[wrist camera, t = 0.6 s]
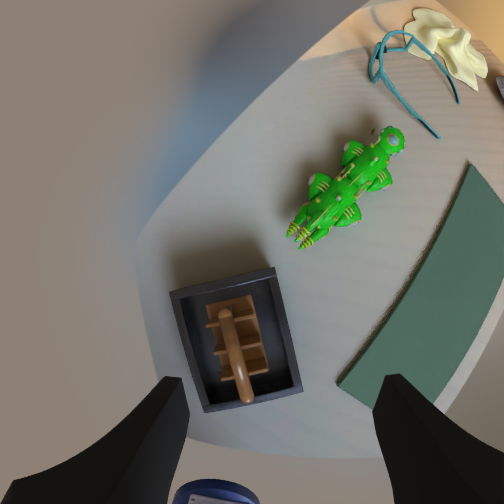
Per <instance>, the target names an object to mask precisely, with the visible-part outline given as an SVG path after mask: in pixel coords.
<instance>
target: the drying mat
mask: <svg viewBox="0 0 504 504" xmlns="http://www.w3.org/2000/svg"><path fill="white" fill-rule="evenodd" d="M503 278H504V204H503V203H502V201H501V200H500V199H499V197H498V196H497V195H496V193H495V192H494V191H493V189H492V188H491V187H490V185H489V184H488V183H487V182H486V180H485V179H484V178H483V177H482V175H481V174H480V173H479V172H478V171H477V169H476V168H475V167H474V166H473V165H472V164H469V166H468V168H467V171H466V173H465V176H464V178H463V181H462V183H461V185H460V188H459V190H458V192H457V195H456V197H455V199H454V201H453V203H452V206H451V208H450V210H449V212H448V214H447V216H446V218H445V220H444V222H443V224H442V226H441V228H440V230H439V232H438V234H437V236H436V238H435V240H434V242H433V244H432V245H431V247H430V249H429V251H428V253H427V255H426V256H425V258H424V260H423V262H422V264H421V265H420V267H419V269H418V270H417V272H416V274H415V275H414V277H413V279H412V280H411V282H410V284H409V285H408V287H407V289H406V290H405V292H404V293H403V295H402V297H401V298H400V300H399V301H398V303H397V304H396V306H395V307H394V309H393V310H392V312H391V313H390V315H389V316H388V318H387V319H386V321H385V322H384V324H383V325H382V326H381V328H380V329H379V331H378V332H377V333H376V335H375V336H374V338H373V339H372V340H371V342H370V343H369V344H368V346H367V347H366V348H365V350H364V351H363V352H362V354H361V355H360V356H359V358H358V359H357V360H356V362H355V363H354V364H353V365H352V367H351V368H350V369H349V370H348V372H347V373H346V374H345V375H344V376H343V378H342V379H341V380H340V381H339V382H338V384H337V386H338V387H339V388H341V389H342V390H344V391H345V392H347V393H348V394H350V395H351V396H353V397H354V398H356V399H357V400H359V401H360V402H362V403H364V404H365V405H367V406H368V407H370V408H371V409H373V408H374V406H375V403H376V400H377V398H378V395H379V392H380V389H381V386H382V383H383V381H384V378H385V375H391V374H398V373H400V374H401V375H403V376H404V377H405V378H406V379H407V380H408V381H409V382H410V383H411V384H412V385H413V386H414V387H415V388H416V389H417V390H418V391H419V392H420V393H421V394H422V395H423V396H425V397H426V398H427V399H428V400H429V401H430V402H431V403H432V404H433V403H434V402H435V400H436V399H437V398H438V396H439V395H440V393H441V392H442V391H443V389H444V388H445V386H446V385H447V383H448V382H449V380H450V379H451V377H452V376H453V374H454V373H455V371H456V370H457V368H458V366H459V365H460V363H461V362H462V360H463V358H464V357H465V355H466V353H467V352H468V350H469V348H470V346H471V345H472V343H473V341H474V339H475V337H476V335H477V334H478V332H479V330H480V328H481V326H482V324H483V322H484V320H485V318H486V316H487V314H488V312H489V310H490V308H491V306H492V303H493V301H494V299H495V297H496V294H497V292H498V290H499V287H500V285H501V283H502V280H503Z"/></svg>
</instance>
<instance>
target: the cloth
mask: <svg viewBox="0 0 504 504" xmlns="http://www.w3.org/2000/svg"><path fill="white" fill-rule="evenodd" d="M413 17H414V18H415V21H412V22H410V23H407V24H406V25H405V27H404V31H405V32H407V33H410V34H412V35H414V36H415V38H416V39H417V40H418V41H420V42H421V43H422V44H423V45H424V46H425V47H426V48H427V49H428V50H429V51H430V52H431V53H432V54H433V55H434V52H436V53H437V54H438V55H440V56H441V57H442V58H443V59H444V60H445V64H446V66H447V70H448V72H449V74H450V75H452V76H453V77H455V78H457V79H459V80H461V81H463V82H465V83H466V84H467V85H469V86H470V87H471V88H473V89H474V90H476V91H477V92H478V86H477V80H476V77H475V74H477V75H478V76H480V77H482V78H485V79H486V76H487V72H488V67H487V63H486V61H485V58H484V56H483V55H482V54H481V53H479V52H478V51H477V50H476V49H475V48H473V47H472V46H471V45H470V44H469V40H470V37H471V35H470V33H469V32H468V31H467V30H465V29H463V28H456V27H455V25H454V24H453V23H452V21H451V20H450V19H449V18H448V17H447V16H446V15H444V14H442V13H440V12H437V11H434V10H431V9H427V8H419V9H414V11H413ZM404 38H405V43H406V45H407V43H408V42H409V40H410V39H411V36H408V35H405V34H404ZM407 51H408V52H409V53H411V54H413V55H415V56H417V57H420V58H423V59H426V60H431V58H432V57H431V56H429V55H428V54H427V53H425V52H424V51H422V50H421V49H420V48H419V47H418V46H417V45H416V44H414V43H413V44H412V45H411V46H410V48H409V49H408V50H407Z"/></svg>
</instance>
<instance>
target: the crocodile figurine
mask: <svg viewBox="0 0 504 504" xmlns="http://www.w3.org/2000/svg"><path fill="white" fill-rule="evenodd" d="M376 143H378V144H376ZM376 143H375V144H372V143H371V144H370V145H368V146H366V147H365V146H364V145H362V144H361V143H359V142H357V141H354V140H350V141H349V142H347V143H345V145H344V148H343V149H344V151H345V152H344V154H343V156H342V166H346V168H345V169H344V170H343V171H342V172H340V174H341V173H344V176H343V177H341V175H340V174H339V175H340V176H339V175H338V176H337V177H336V178H335V179H334V180H332V179H331V178H330V177H329V176H327V175H325V174H323V173H315V174H314V175H312V176H311V177H310V178H309V181H308V183H309V185H310V187H309V194H308V199H309V200H311V201H309V202H308V203H309V205H308V203H305V204H304V205H306V204H307V205H306V206H304V205H302V206H300V208H299V209H300V210H298V212H297V215H296V216H295V219H294V221H293V222H291V223H290V224H291V225H289V228H288V229H287V230H288V231H287V234H286V237H288V236H289V235H292V233H294V231H297V229H299V228H300V227H299V226H300V225H301V224H302V223H303V222H304V221H305V220H306V219H307V220H308V223H307V224H306V225H305V227H304V226H302V228H303V230H300V233H298V236H296V237H297V238H296V239H295V242H297V241H298V240H301V238H302V239H304V236H305V237H306V239H304V241H302V244H300V247H299V248H298V250H300V249H304V247H305V248H307V246H308V247H309V246H310V244H311V245H313V244H314V243H313V242H315V241H317V240H319V239H320V238H323V237H325V236H327V235H328V234H329V232H330V230H331V229H330V228H332V226H333V225H334V224H335V225H334V226H340V227H342V226H348V225H349V226H350V227H354V226H356V225H357V224H358V223H359V221H360V220H361V212H360V210H359V208H358V206H357V204H356V203H355V201H356V199H357V198H358V197H359V196H360V195H361V194H362V193H363V192H364V191H365V190H366V188H367V192H371V191H376V190H380V189H382V190H387V189H389V188H390V185H392V178H391V175H390V173H389V172H388V170H387V169H386V167H387V165H388V164H389V163H390V161H389V158H390V157H391V156H396V155H397V153H402V152H403V151H404V145H406V140H405V139H404V136H403V133H402V131H401V130H399V129H397V128H393V127H392V126H388V127H387V128H384V129H381V130H380V136H378V137H377V142H376ZM389 155H390V157H389ZM362 190H364V191H363V192H362ZM359 191H361V194H358V192H359ZM358 195H359V196H358ZM312 199H313V200H312ZM315 228H316V229H315ZM313 229H315V230H314V232H313V233H312V234H311V235H310V232H311V231H312V230H313ZM306 234H309V235H310V236H307V235H306Z"/></svg>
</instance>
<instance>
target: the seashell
mask: <svg viewBox="0 0 504 504" xmlns="http://www.w3.org/2000/svg"><path fill="white" fill-rule="evenodd" d="M496 79H497V85H498V87H499V90H500V92H501V94H502V96H503V98H504V76H497V78H496Z"/></svg>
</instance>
